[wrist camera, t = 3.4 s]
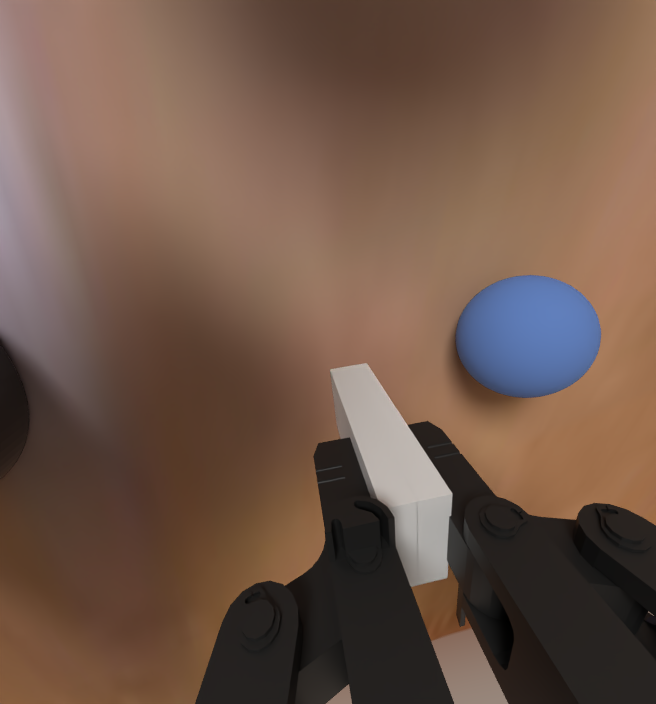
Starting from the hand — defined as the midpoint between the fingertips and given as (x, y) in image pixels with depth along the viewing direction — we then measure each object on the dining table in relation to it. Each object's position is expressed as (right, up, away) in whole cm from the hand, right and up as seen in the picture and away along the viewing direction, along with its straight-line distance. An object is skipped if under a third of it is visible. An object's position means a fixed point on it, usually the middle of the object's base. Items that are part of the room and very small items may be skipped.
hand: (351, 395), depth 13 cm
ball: (+9, +3, +3) cm, 9 cm away
